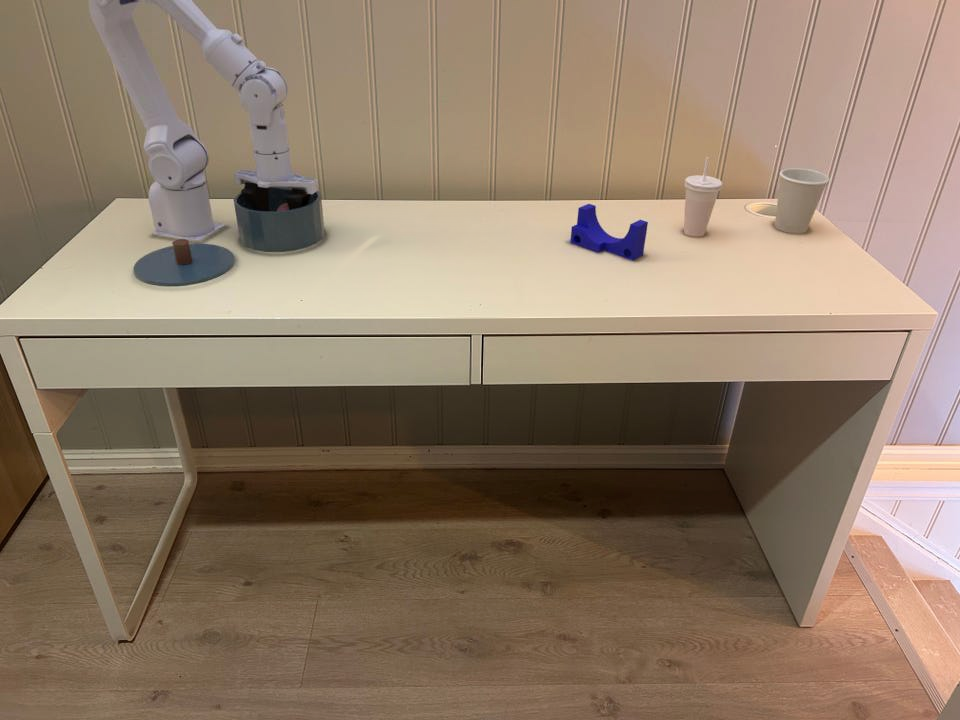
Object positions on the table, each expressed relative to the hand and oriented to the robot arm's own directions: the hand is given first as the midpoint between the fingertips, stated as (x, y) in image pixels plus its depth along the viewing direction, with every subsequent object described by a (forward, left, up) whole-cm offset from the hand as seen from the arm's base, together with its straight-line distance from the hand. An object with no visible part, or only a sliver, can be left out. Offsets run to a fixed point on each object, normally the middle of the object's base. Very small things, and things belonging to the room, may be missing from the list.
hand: (281, 228), depth 126 cm
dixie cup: (+85, +37, -2) cm, 93 cm away
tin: (0, 0, -2) cm, 2 cm away
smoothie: (+68, +28, -2) cm, 74 cm away
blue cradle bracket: (+54, +15, -2) cm, 56 cm away
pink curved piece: (0, 0, -2) cm, 2 cm away
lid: (-8, -16, -1) cm, 18 cm away
